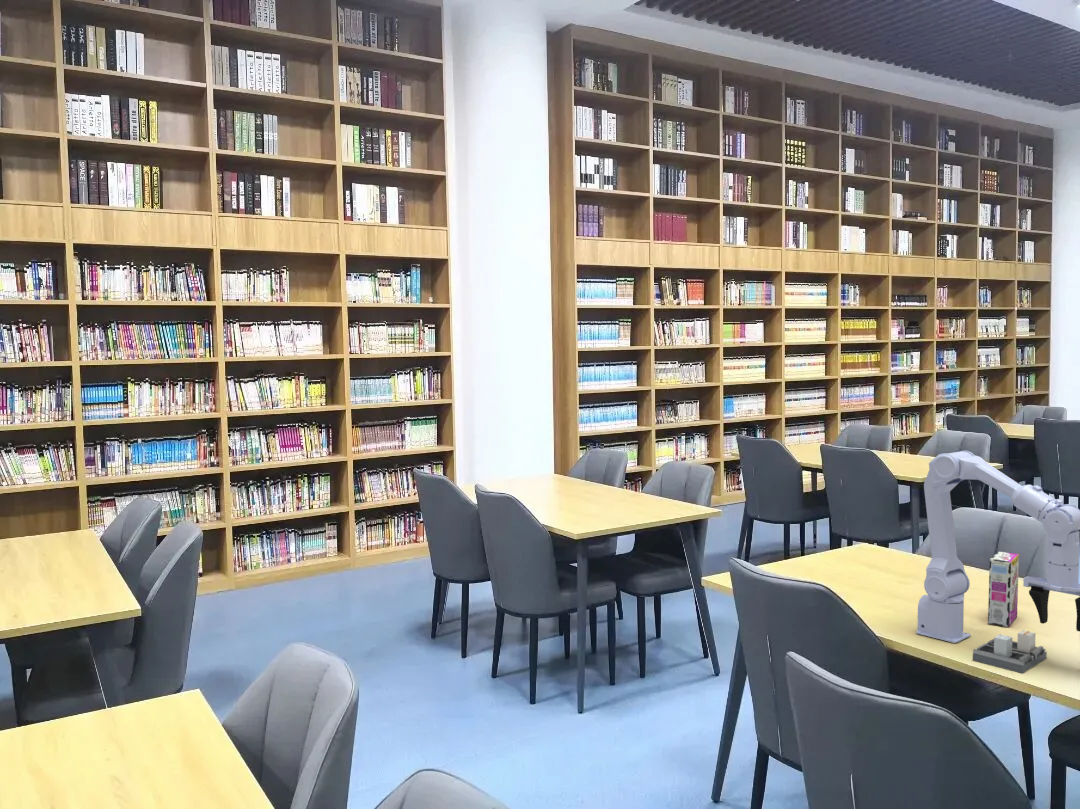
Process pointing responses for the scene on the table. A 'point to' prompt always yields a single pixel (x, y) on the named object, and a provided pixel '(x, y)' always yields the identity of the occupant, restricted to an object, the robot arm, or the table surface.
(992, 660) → the grey divided tray
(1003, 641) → the block
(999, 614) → the candy bar box
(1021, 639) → the fader
